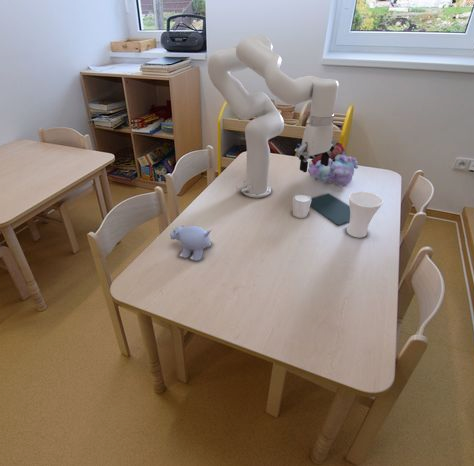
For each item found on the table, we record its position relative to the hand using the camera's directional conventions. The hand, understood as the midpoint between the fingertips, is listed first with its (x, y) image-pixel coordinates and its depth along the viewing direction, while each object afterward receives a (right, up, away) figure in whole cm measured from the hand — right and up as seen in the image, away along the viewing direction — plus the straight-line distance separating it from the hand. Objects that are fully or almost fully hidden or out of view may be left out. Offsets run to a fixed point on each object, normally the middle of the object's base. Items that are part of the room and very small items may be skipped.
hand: (313, 168), depth 119 cm
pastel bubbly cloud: (+18, +1, +32) cm, 36 cm away
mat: (+11, -14, +11) cm, 21 cm away
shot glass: (-2, -16, +9) cm, 19 cm away
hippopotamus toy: (-44, -29, -6) cm, 53 cm away
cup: (+14, -24, -3) cm, 28 cm away
